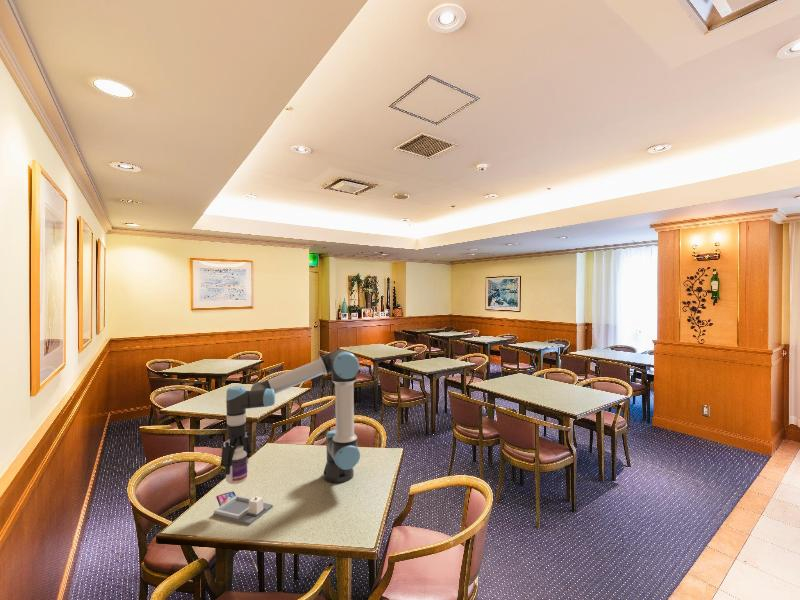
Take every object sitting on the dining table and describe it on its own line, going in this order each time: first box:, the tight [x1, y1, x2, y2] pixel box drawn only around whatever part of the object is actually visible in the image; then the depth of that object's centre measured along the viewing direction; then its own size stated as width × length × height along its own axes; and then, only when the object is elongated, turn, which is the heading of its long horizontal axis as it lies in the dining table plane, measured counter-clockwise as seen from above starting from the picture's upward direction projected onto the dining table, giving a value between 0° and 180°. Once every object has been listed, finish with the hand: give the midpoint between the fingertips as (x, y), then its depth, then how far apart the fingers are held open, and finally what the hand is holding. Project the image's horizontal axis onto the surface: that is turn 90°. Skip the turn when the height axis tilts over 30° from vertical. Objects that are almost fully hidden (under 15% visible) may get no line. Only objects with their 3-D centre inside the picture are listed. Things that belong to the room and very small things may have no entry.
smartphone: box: [216, 491, 237, 507], centre depth 173 cm, size 8×1×15 cm
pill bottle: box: [227, 445, 248, 485], centre depth 164 cm, size 8×8×14 cm
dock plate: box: [212, 495, 274, 526], centre depth 163 cm, size 19×14×7 cm
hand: (237, 476), depth 164 cm, fingers closed on pill bottle, 8 cm apart
